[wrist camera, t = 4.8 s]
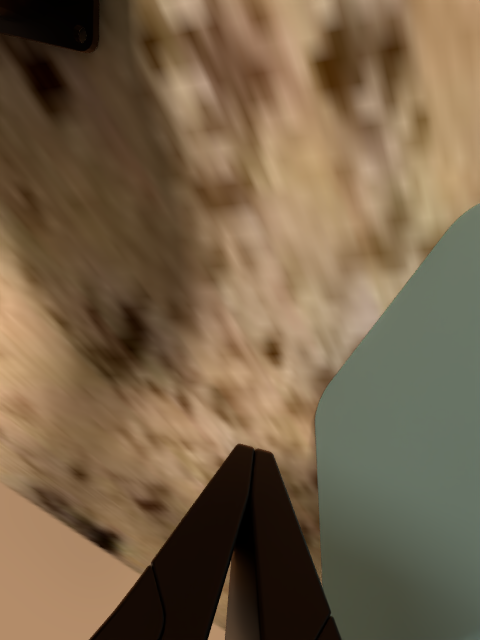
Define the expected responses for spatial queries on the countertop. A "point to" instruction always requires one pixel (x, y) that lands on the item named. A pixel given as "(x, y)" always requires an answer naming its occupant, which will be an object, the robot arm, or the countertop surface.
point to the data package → (408, 459)
